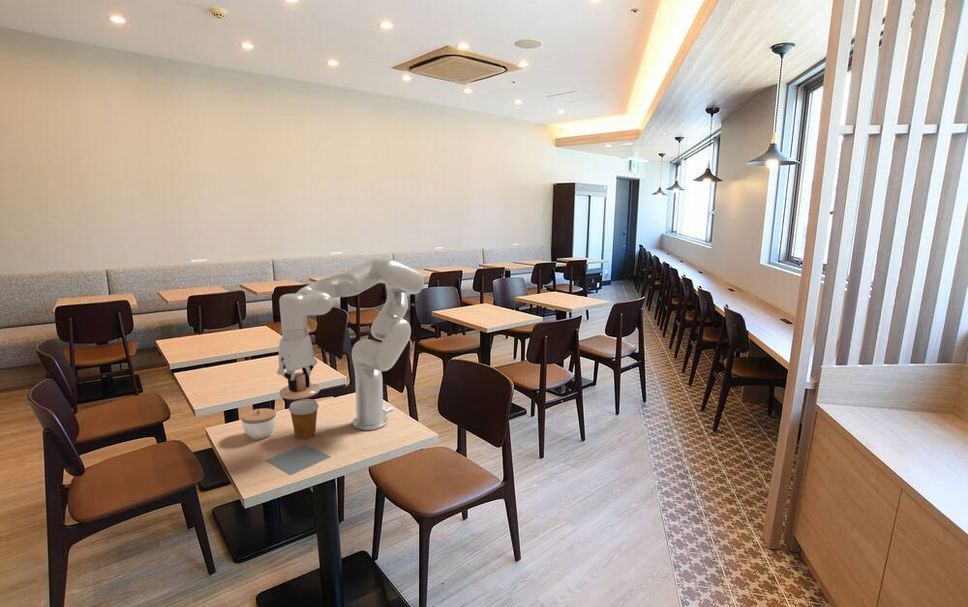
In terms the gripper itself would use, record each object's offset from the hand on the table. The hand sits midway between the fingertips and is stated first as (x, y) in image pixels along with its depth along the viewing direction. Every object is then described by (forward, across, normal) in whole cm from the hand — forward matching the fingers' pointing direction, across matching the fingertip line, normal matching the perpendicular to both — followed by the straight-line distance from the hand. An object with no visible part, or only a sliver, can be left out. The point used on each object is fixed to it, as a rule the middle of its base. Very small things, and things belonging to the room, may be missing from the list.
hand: (299, 388), depth 156 cm
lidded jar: (+21, +3, -20) cm, 29 cm away
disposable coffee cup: (+21, -6, -7) cm, 23 cm away
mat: (+21, +6, +5) cm, 22 cm away
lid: (+1, 0, 0) cm, 1 cm away
